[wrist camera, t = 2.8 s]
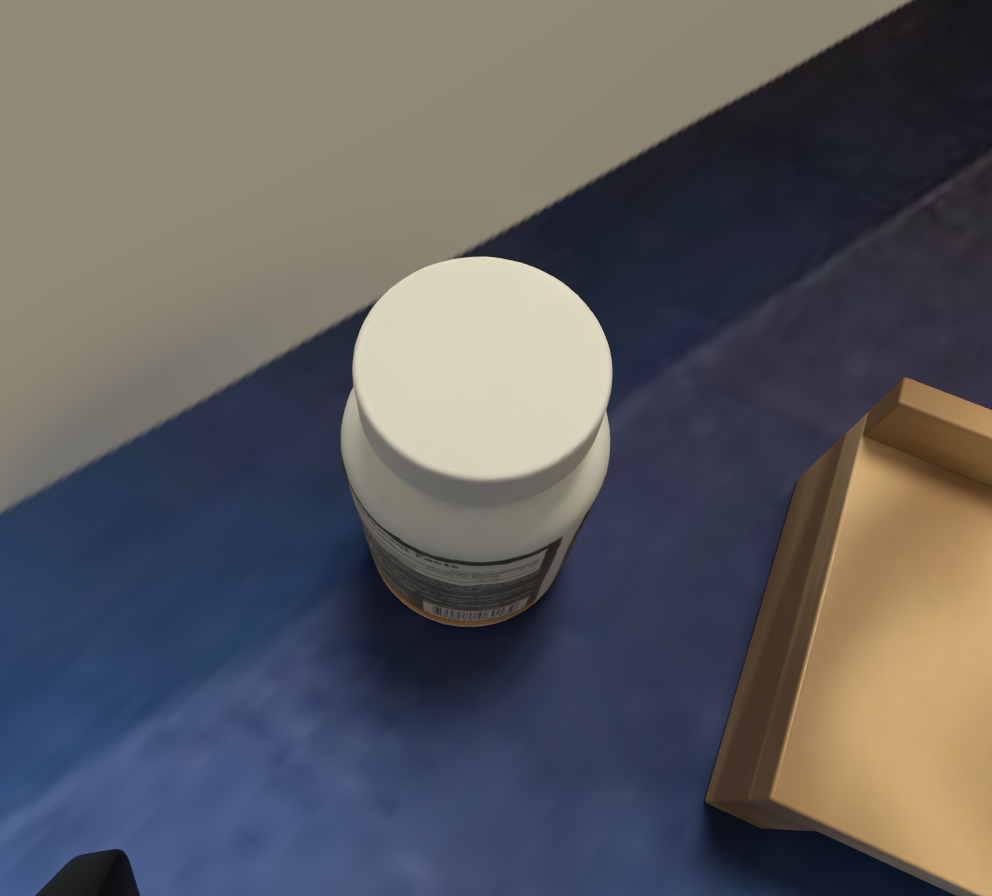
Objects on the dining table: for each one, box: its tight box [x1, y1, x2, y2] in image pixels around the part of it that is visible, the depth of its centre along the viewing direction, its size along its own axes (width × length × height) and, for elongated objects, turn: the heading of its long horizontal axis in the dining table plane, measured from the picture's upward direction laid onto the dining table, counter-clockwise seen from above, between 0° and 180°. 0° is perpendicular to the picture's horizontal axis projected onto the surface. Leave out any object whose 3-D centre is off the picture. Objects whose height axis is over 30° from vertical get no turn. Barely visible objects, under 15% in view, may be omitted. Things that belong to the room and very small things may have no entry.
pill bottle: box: [340, 257, 612, 627], centre depth 18 cm, size 6×6×10 cm
